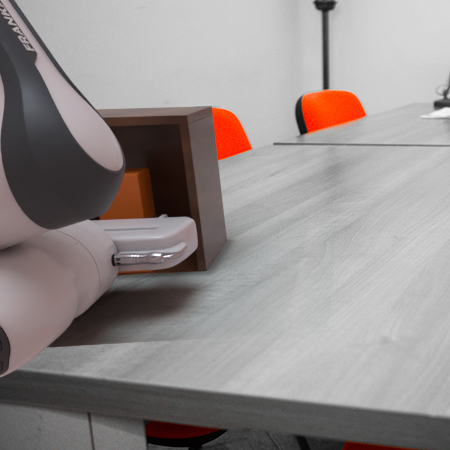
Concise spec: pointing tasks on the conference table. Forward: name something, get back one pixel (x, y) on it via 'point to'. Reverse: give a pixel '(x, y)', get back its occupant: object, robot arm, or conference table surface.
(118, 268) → the robot arm
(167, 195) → the cubby
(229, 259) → the conference table surface
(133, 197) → the block
